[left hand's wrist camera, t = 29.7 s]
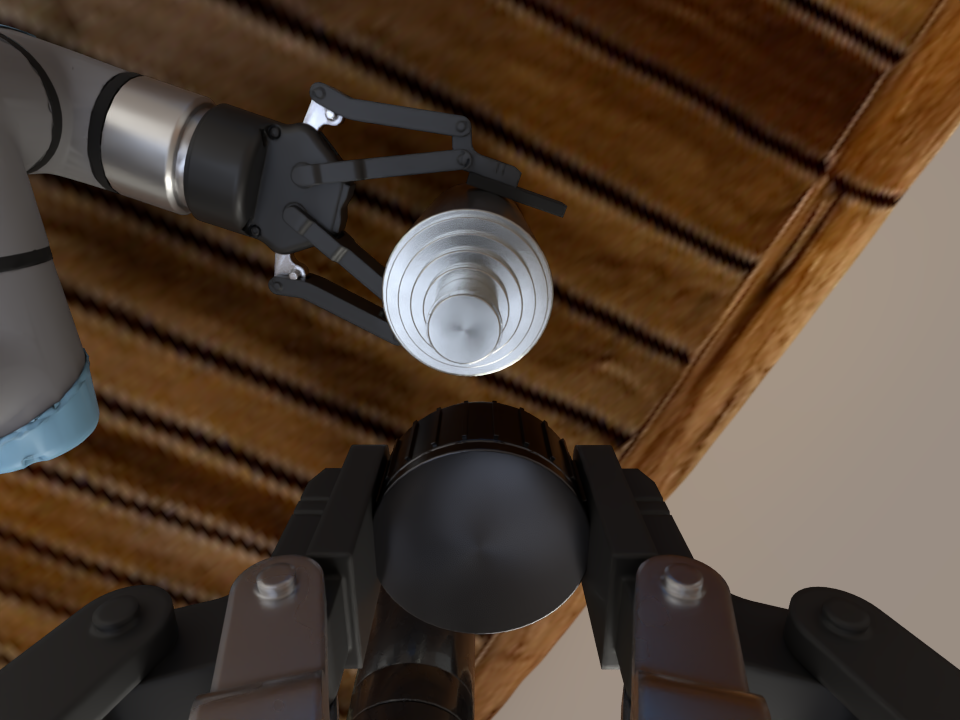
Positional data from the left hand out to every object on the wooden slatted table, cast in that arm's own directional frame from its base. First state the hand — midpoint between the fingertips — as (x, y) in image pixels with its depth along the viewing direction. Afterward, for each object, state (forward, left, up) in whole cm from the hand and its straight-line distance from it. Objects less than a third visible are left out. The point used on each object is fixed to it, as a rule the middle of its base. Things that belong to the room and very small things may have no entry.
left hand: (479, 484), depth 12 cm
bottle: (0, 0, -35) cm, 35 cm away
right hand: (+1, -4, -29) cm, 29 cm away
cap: (0, 0, +2) cm, 2 cm away
